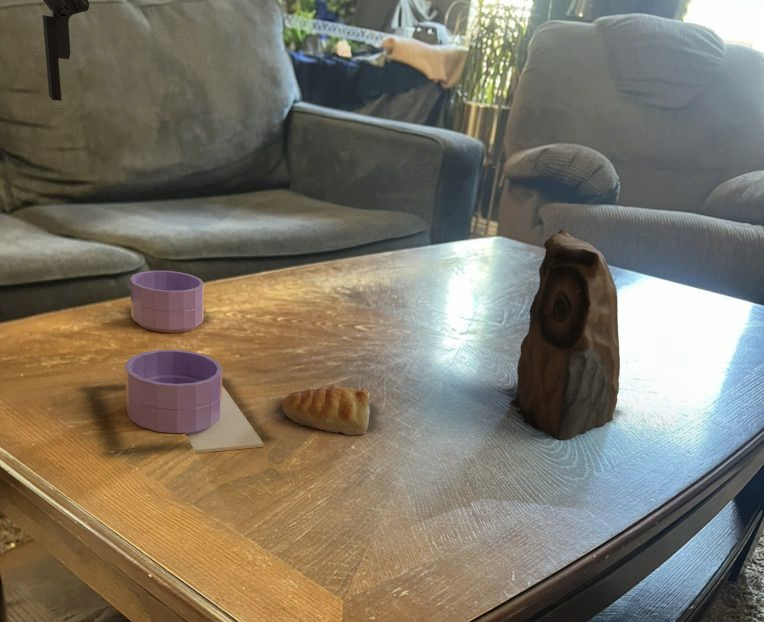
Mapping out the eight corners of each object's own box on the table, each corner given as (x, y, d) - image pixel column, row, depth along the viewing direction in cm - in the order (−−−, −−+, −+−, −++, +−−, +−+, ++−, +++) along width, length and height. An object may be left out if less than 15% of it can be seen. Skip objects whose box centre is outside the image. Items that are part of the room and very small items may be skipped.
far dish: (139, 335, 97) (138, 292, 94) (126, 311, 104) (124, 270, 101) (211, 333, 101) (211, 291, 98) (193, 310, 107) (193, 270, 105)
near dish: (138, 442, 73) (135, 388, 70) (120, 402, 79) (117, 351, 76) (231, 434, 77) (233, 382, 74) (207, 396, 83) (207, 347, 80)
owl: (561, 446, 85) (612, 261, 75) (471, 404, 92) (507, 229, 82) (618, 420, 93) (671, 251, 83) (532, 383, 100) (571, 222, 90)
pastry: (278, 429, 80) (281, 394, 78) (284, 403, 86) (286, 370, 84) (369, 438, 81) (374, 404, 79) (368, 411, 86) (372, 379, 84)
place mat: (114, 461, 70) (114, 457, 70) (90, 397, 80) (90, 394, 80) (263, 446, 76) (263, 443, 76) (222, 389, 86) (223, 386, 86)
